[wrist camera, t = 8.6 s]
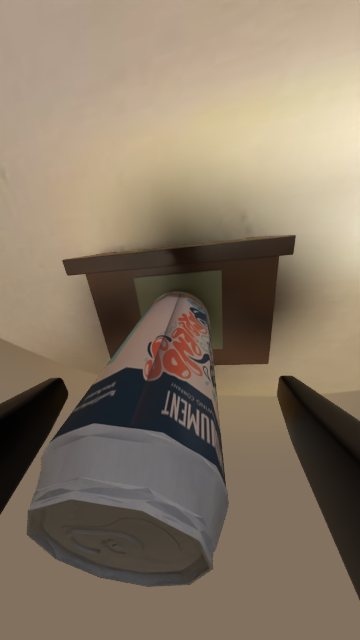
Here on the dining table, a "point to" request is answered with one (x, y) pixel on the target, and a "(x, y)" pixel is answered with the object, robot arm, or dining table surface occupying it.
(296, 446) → the robot arm
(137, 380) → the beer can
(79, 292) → the dining table surface
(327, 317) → the dining table surface
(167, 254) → the brown rectangular block
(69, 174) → the dining table surface
